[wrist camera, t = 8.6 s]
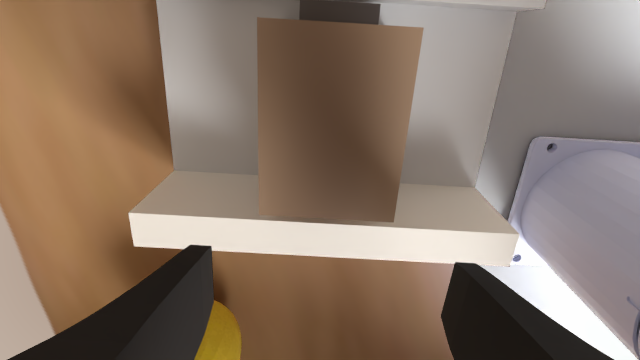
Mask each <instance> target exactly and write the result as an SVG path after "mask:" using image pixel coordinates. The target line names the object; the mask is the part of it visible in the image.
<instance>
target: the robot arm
mask: <svg viewBox="0 0 640 360" xmlns="http://www.w3.org/2000/svg"><path fill="white" fill-rule="evenodd" d="M551 143H553V146H552V148H551V149H549V150H547V147H548V145H549V144H551ZM508 223H509V224H510V225H511V226H512V227H513V228H514V229H515V230H516V231H517V232H518V233H519V234H520V236H519V239H518V242H517V245H516V248H515V252H514V255H513V257H514V256H515V255H518V256H517V257H515V258H512V261H511V264H513V265H532V266H549V267H550V268H551V269H552V270H553V271H554V272H555V273H556V274H557V275H558V276H559V277H560V278H561V279H562V280H563V281H564V282H565V283H566V284H567V286H568V287H569V288H570V289H571V290H572V291H573V292H574V293H575V294H576V295H577V296H578V297H579V298H580V299H581V300H582V301H583V302H584V303H585V304H586V305H587V306H588V307H589V309H590V310H591V311H592V312H593V313H594V314H595V315H596V316H597V317H598V318H599V319H600V320H601V321H602V322H603V323H604V324H605V325H606V326H607V327H608V328H609V329H610V330H611V332H612V333H613V334H614V335H615V336H616V337H617V338H618V339H619V340H620V341H621V342H622V343H623V344H624V345H625V346H626V347H627V348H628V349H629V350H630V351H631V352H632V353H633V354H634V356H635V357H636V358H637V359H638V360H640V142H628V141H611V140H594V139H577V138H560V137H543V136H541V137H537V138H535V139H534V140H533V141H532V142H531V144H530V146H529V150H528V153H527V157H526V160H525V164H524V167H523V170H522V174H521V177H520V181H519V184H518V187H517V191H516V194H515V198H514V201H513V205H512V208H511V211H510V215H509V218H508ZM213 303H214V293H213V270H212V246H204V245H189V246H188V247H186V248H185V249H184V250H182V251H181V252H180V253H178V254H177V255H176V256H175V257H173V258H172V259H171V260H169V261H168V262H167V263H165V264H164V265H163V266H162V267H160V268H159V269H158V270H156V271H155V272H153V273H152V274H151V275H149V276H148V277H147V278H145V279H144V280H143V281H141V282H140V283H139V284H137V285H136V286H134V287H133V288H131V289H130V290H128V291H127V292H125V293H124V294H122V295H121V296H119V297H118V298H117V299H115V300H114V301H112V302H111V303H109V304H108V305H106V306H105V307H103V308H102V309H100V310H98V311H97V312H95V313H94V314H92V315H90V316H89V317H87V318H85V319H84V320H82V321H80V322H78V323H77V324H75V325H73V326H71V327H70V328H68V329H66V330H64V331H63V332H61V333H59V334H57V335H55V336H53V337H52V338H50V339H48V340H46V341H44V342H42V343H40V344H38V345H36V346H34V347H32V348H30V349H28V350H26V351H24V352H22V353H20V354H18V355H16V356H14V357H12V358H10V359H8V360H194V359H195V356H196V354H197V352H198V349H199V347H200V344H201V342H202V340H203V337H204V335H205V331H206V328H207V325H208V321H209V318H210V314H211V310H212V307H213ZM441 318H442V322H443V326H444V330H445V333H446V337H447V340H448V344H449V347H450V350H451V353H452V355H453V358H454V360H614V359H612V358H610V357H609V356H607V355H605V354H604V353H602V352H600V351H599V350H597V349H596V348H594V347H592V346H591V345H589V344H588V343H586V342H585V341H583V340H582V339H580V338H579V337H577V336H576V335H574V334H573V333H571V332H570V331H568V330H567V329H565V328H564V327H562V326H561V325H560V324H558V323H557V322H555V321H554V320H552V319H551V318H550V317H548V316H547V315H545V314H544V313H543V312H541V311H540V310H539V309H537V308H536V307H534V306H533V305H532V304H530V303H529V302H528V301H526V300H525V299H524V298H522V297H521V296H520V295H518V294H517V293H516V292H514V291H513V290H512V289H510V288H509V287H508V286H507V285H505V284H504V283H503V282H501V281H500V280H499V279H497V278H496V277H495V276H493V275H492V274H491V273H489V272H488V271H486V270H485V269H483V268H482V267H481V266H479V265H477V264H476V263H463V262H455V265H454V269H453V273H452V276H451V280H450V284H449V287H448V291H447V295H446V299H445V302H444V306H443V310H442V314H441Z"/></svg>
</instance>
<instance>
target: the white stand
mask: <svg viewBox="0 0 640 360" xmlns="http://www.w3.org/2000/svg"><path fill="white" fill-rule="evenodd" d="M327 1H343V2H359V3H375V4H381V6H380V15H379V24H378V25H390V26H407V27H423V28H424V29H423V36H422V42H421V49H420V55H419V62H418V68H417V75H416V81H415V88H414V94H413V101H412V107H411V114H410V120H409V127H408V133H407V140H406V146H405V152H404V159H403V165H402V172H401V178H400V185H399V191H398V198H397V204H396V211H395V217H394V223H393V222H375V221H357V220H339V219H321V218H303V217H285V216H267V215H259V183H258V72H257V17H262V18H278V19H294V20H299V11H300V0H156V4H157V13H158V23H159V32H160V42H161V51H162V61H163V70H164V80H165V89H166V99H167V108H168V118H169V127H170V137H171V146H172V156H173V165H174V171H173V172H172V173H171V174H170V175H169V176H167V177H166V178H165V179H164V180H163V181H162V182H161V183H160V184H159V185H158V186H157V187H156V188H155V189H153V190H152V191H151V192H150V193H149V194H148V195H147V196H146V197H145V198H144V199H143V200H142V201H141V202H139V203H138V204H137V205H136V206H135V207H134V208H133V209H132V210H131V211H130V212H129V220H130V226H131V232H132V238H133V244H134V246H136V247H155V248H173V249H185V248H186V247H188V246H189V245H204V246H212V251H228V252H247V253H265V254H284V255H302V256H321V257H339V258H357V259H376V260H394V261H413V262H431V263H450V264H455V262H463V263H476V264H477V265H486V266H505V267H510V264H511V261H512V258H513V255H514V252H515V248H516V245H517V242H518V239H519V236H520V234H519V233H518V232H517V231H516V230H515V229H514V228H513V227H512V226H511V225H510V224H509V223H508V222H507V221H506V220H505V218H504V217H503V216H502V215H501V214H500V213H499V212H498V211H497V210H496V209H495V208H494V207H493V206H492V205H491V204H490V203H489V202H488V201H487V200H486V199H485V198H484V197H483V196H482V195H481V194H480V193H479V192H478V190H477V189H476V188H475V184H476V180H477V176H478V172H479V167H480V163H481V159H482V155H483V151H484V147H485V143H486V138H487V134H488V130H489V126H490V122H491V118H492V114H493V110H494V105H495V101H496V97H497V93H498V89H499V85H500V81H501V77H502V72H503V68H504V64H505V60H506V56H507V52H508V48H509V44H510V39H511V35H512V31H513V27H514V23H515V19H516V15H517V11H527V10H537V9H545V5H546V1H547V0H327Z"/></svg>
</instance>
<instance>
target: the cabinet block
mask: <svg viewBox="0 0 640 360" xmlns="http://www.w3.org/2000/svg"><path fill="white" fill-rule="evenodd" d="M380 6H381V4H375V3H359V2H343V1H327V0H300V11H299V20H294V19H278V18H262V17H257V72H258V183H259V215H267V216H285V217H303V218H321V219H339V220H357V221H375V222H393V223H394V217H395V211H396V204H397V198H398V191H399V185H400V178H401V172H402V165H403V159H404V152H405V146H406V140H407V133H408V127H409V120H410V114H411V107H412V101H413V94H414V88H415V81H416V75H417V68H418V62H419V55H420V49H421V42H422V36H423V29H424V28H423V27H407V26H390V25H378V24H379V15H380Z"/></svg>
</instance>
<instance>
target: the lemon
mask: <svg viewBox="0 0 640 360" xmlns="http://www.w3.org/2000/svg"><path fill="white" fill-rule="evenodd" d="M241 346H242V340H241V333H240V328H239V325H238V322H237V320H236V319H235V317H234V315H233V314H232V312H231V311H230V310H229V309H228V308H227V307H226V306H224V305H223V304H221V303H220V302H217V301H215V300H214V303H213V307H212V310H211V314H210V318H209V321H208V325H207V328H206V331H205V335H204V337H203V340H202V342H201V344H200V347H199V349H198V352H197V354H196V356H195V359H194V360H240V355H241Z"/></svg>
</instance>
